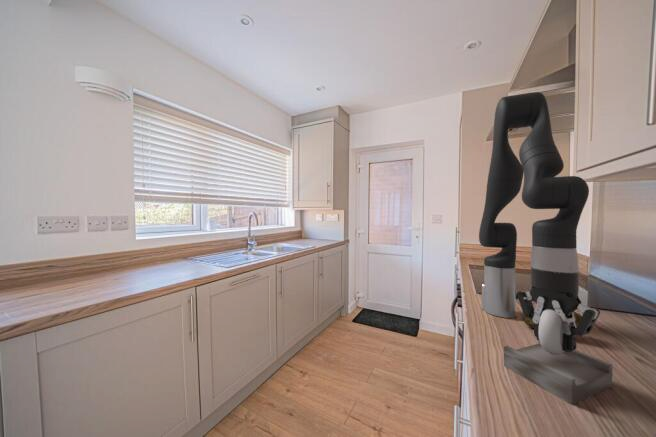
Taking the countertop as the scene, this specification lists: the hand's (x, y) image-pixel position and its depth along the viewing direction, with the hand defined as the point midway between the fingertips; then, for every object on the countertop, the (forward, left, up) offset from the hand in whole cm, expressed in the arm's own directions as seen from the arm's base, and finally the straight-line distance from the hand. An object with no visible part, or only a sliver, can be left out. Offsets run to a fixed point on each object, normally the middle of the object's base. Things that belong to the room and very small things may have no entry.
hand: (553, 344), depth 51 cm
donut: (0, 0, -2) cm, 2 cm away
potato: (-12, +24, -7) cm, 28 cm away
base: (0, 0, -7) cm, 7 cm away
